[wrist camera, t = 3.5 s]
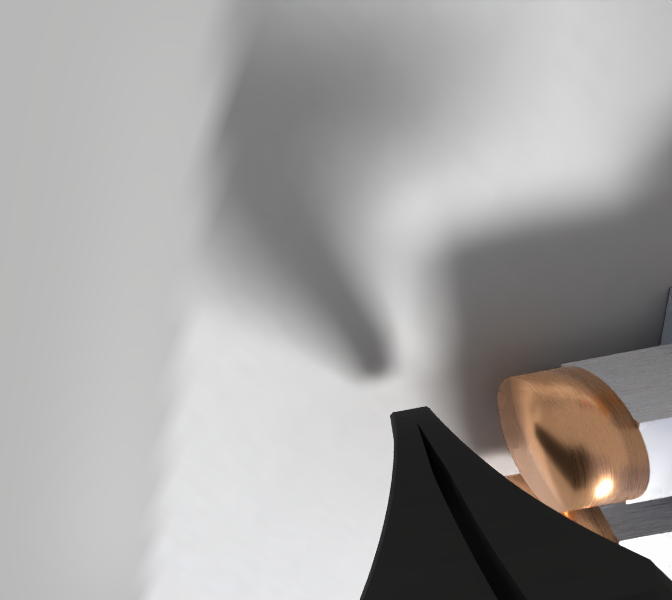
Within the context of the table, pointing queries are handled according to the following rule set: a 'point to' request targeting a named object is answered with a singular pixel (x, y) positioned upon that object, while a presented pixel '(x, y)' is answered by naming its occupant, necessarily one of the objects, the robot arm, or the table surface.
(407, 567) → the robot arm
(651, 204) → the table surface
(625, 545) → the knob
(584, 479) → the knob
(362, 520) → the table surface
